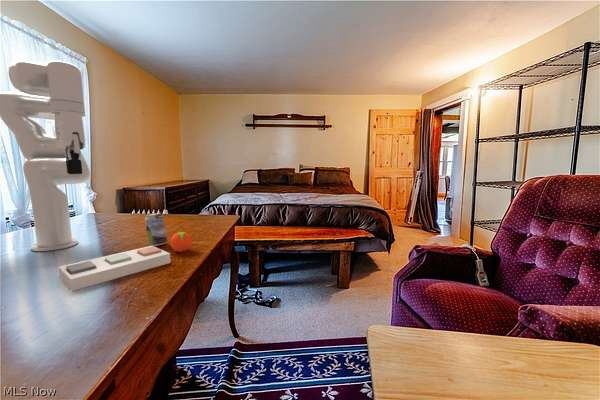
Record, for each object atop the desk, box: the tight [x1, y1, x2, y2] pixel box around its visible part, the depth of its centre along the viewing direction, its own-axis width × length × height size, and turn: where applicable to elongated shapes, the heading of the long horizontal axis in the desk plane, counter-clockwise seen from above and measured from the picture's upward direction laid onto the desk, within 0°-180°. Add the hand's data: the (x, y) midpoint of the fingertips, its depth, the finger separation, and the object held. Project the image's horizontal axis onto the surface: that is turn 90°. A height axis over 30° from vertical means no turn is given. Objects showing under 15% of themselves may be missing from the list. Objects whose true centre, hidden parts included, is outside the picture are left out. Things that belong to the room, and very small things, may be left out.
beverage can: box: [144, 212, 168, 247], centre depth 100 cm, size 6×7×12 cm
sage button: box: [105, 252, 131, 265], centre depth 78 cm, size 5×5×3 cm
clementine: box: [170, 231, 193, 253], centre depth 94 cm, size 8×7×7 cm
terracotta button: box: [137, 246, 162, 256], centre depth 85 cm, size 5×5×3 cm
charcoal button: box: [66, 261, 96, 275], centre depth 71 cm, size 5×5×3 cm
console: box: [57, 245, 171, 292], centre depth 78 cm, size 12×24×3 cm, turn 142°
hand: (74, 173), depth 80 cm, fingers closed
